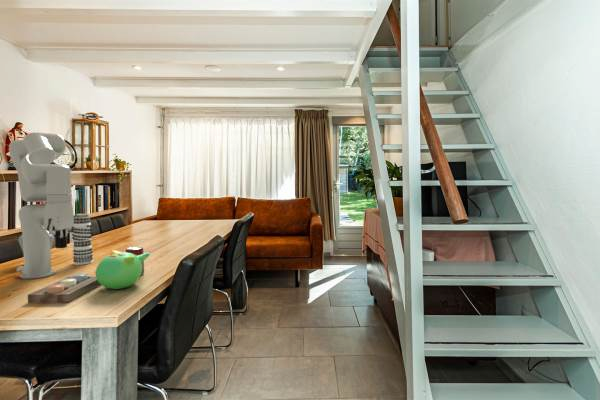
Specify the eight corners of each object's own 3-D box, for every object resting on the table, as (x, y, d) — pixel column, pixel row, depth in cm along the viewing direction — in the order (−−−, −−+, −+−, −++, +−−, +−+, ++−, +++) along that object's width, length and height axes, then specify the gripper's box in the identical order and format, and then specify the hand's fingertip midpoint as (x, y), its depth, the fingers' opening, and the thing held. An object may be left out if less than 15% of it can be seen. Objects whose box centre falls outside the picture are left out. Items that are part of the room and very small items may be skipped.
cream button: (57, 293, 129) (57, 282, 129) (66, 288, 134) (66, 278, 134) (71, 293, 129) (70, 282, 129) (79, 288, 134) (79, 278, 134)
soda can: (137, 277, 152) (136, 250, 151) (122, 276, 153) (121, 249, 152) (147, 272, 159) (146, 246, 158) (133, 272, 160) (132, 246, 159)
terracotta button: (44, 299, 122) (43, 288, 122) (54, 295, 127) (53, 284, 127) (58, 299, 122) (57, 288, 122) (67, 294, 127) (67, 284, 127)
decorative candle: (88, 259, 185) (86, 212, 183) (97, 262, 179) (95, 213, 178) (69, 263, 177) (67, 214, 176) (77, 265, 172) (75, 215, 170)
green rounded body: (110, 281, 146) (109, 246, 145) (151, 280, 148) (150, 245, 147) (87, 295, 128) (86, 256, 127) (135, 294, 130) (133, 255, 129)
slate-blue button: (69, 287, 136) (69, 277, 136) (77, 283, 141) (77, 273, 141) (82, 287, 136) (82, 277, 136) (90, 283, 141) (89, 273, 141)
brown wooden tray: (28, 303, 121) (27, 294, 121) (69, 283, 143) (68, 276, 142) (68, 302, 121) (68, 294, 121) (103, 283, 143) (103, 276, 143)
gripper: (63, 196, 136) (64, 243, 138) (33, 200, 121) (35, 252, 123) (82, 197, 136) (83, 243, 138) (55, 201, 121) (57, 253, 123)
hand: (61, 247), depth 130 cm, fingers closed
